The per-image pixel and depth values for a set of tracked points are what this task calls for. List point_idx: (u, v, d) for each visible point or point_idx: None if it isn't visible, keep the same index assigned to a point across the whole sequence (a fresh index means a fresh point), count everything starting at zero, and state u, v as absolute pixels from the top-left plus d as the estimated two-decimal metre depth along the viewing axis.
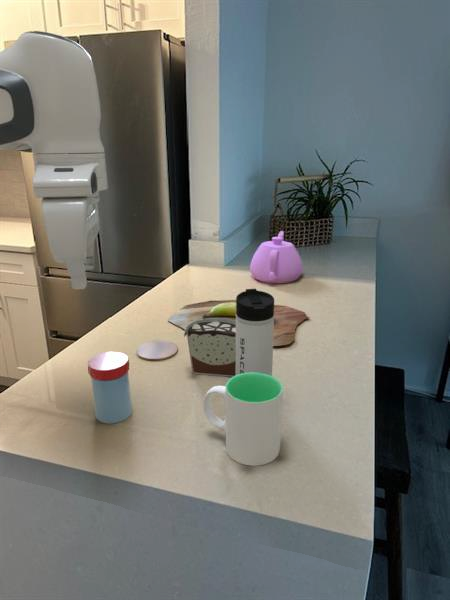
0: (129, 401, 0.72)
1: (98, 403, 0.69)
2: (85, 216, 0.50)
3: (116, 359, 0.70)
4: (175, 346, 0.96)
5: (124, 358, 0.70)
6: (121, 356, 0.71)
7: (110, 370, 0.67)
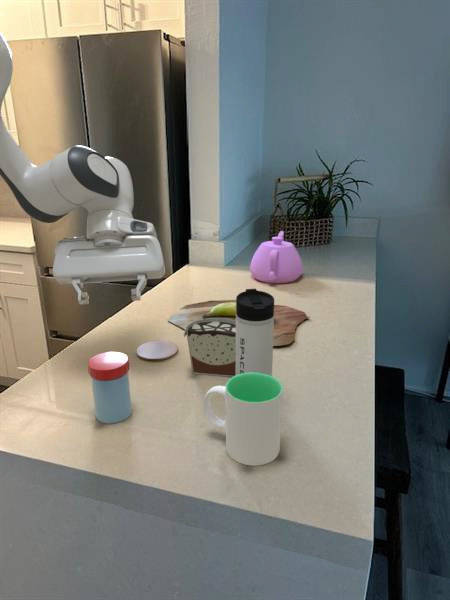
0: (129, 401, 0.72)
1: (98, 403, 0.69)
2: None
3: (116, 359, 0.70)
4: (175, 346, 0.96)
5: (124, 358, 0.70)
6: (121, 356, 0.71)
7: (110, 370, 0.67)
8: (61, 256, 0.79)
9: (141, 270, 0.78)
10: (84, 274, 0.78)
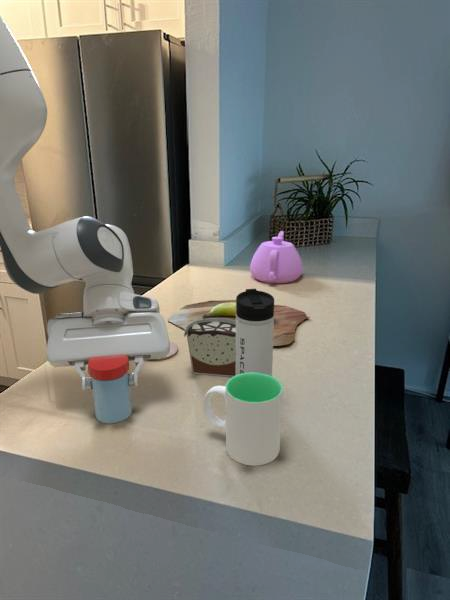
0: (129, 401, 0.72)
1: (98, 403, 0.69)
2: None
3: (116, 359, 0.70)
4: (175, 346, 0.96)
5: (124, 358, 0.70)
6: (121, 356, 0.71)
7: (110, 370, 0.67)
8: (56, 337, 0.71)
9: (146, 352, 0.72)
10: (82, 357, 0.70)
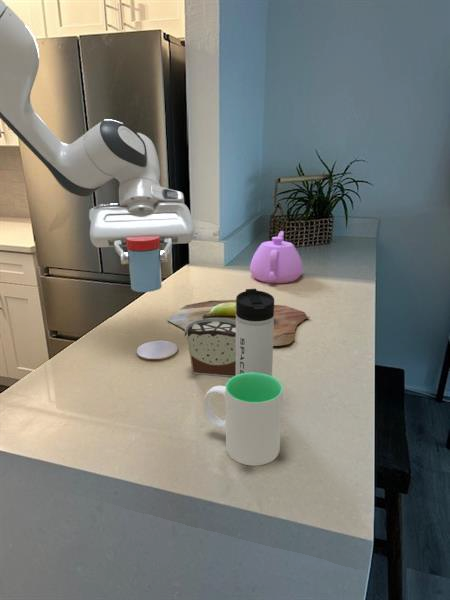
0: (160, 275, 0.84)
1: (134, 273, 0.82)
2: None
3: (149, 237, 0.82)
4: (175, 346, 0.96)
5: (156, 236, 0.82)
6: (153, 235, 0.83)
7: (145, 241, 0.79)
8: (97, 220, 0.83)
9: (174, 234, 0.84)
10: (120, 236, 0.83)
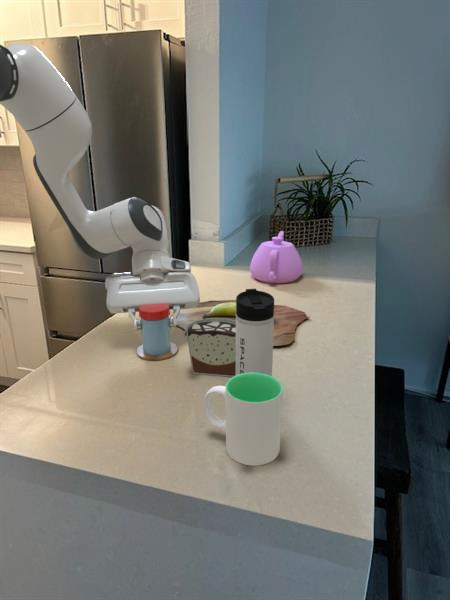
0: (169, 339, 0.93)
1: (146, 339, 0.91)
2: None
3: (160, 306, 0.91)
4: (175, 346, 0.96)
5: (166, 305, 0.92)
6: (163, 304, 0.92)
7: (157, 312, 0.88)
8: (113, 289, 0.93)
9: (182, 302, 0.94)
10: (134, 305, 0.92)
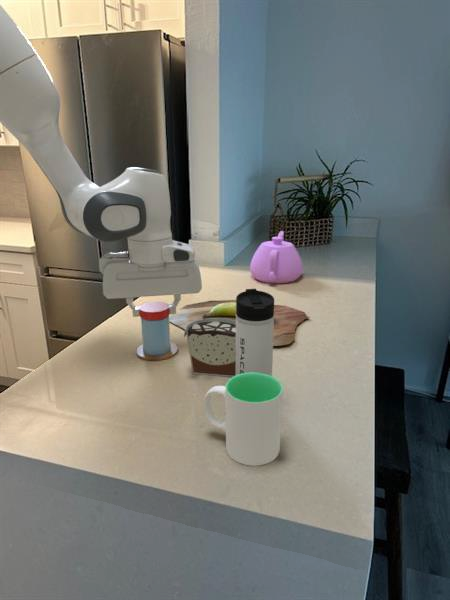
0: (169, 339, 0.93)
1: (146, 339, 0.91)
2: None
3: (160, 306, 0.91)
4: (175, 346, 0.96)
5: (166, 305, 0.92)
6: (163, 304, 0.92)
7: (157, 312, 0.88)
8: (109, 279, 0.86)
9: (183, 293, 0.89)
10: (132, 296, 0.88)
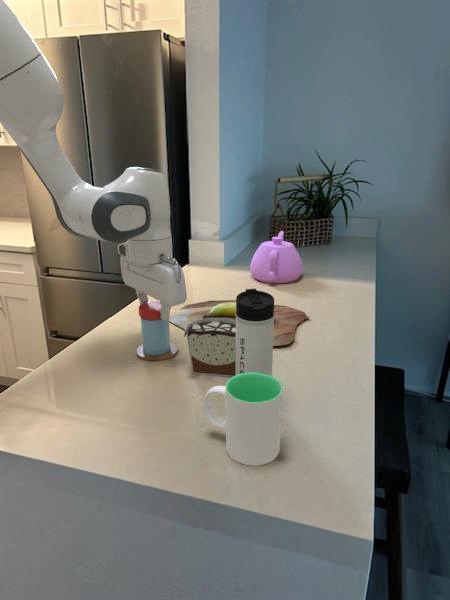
0: (169, 339, 0.93)
1: (146, 339, 0.91)
2: (120, 262, 0.94)
3: (150, 304, 0.92)
4: (175, 346, 0.96)
5: (146, 303, 0.93)
6: (144, 304, 0.92)
7: None
8: None
9: None
10: None
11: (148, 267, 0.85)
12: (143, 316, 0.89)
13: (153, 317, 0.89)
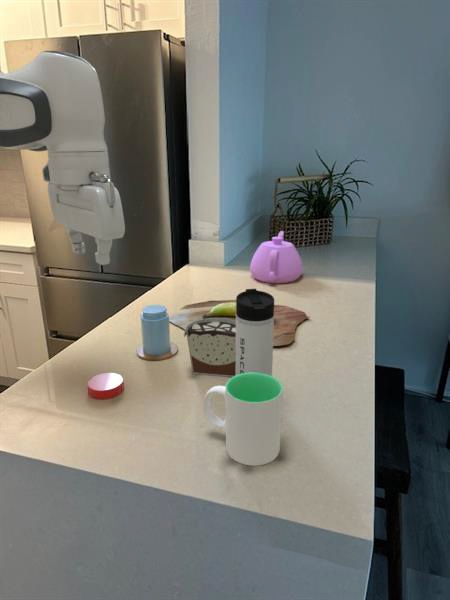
0: (169, 339, 0.93)
1: (146, 339, 0.91)
2: (48, 193, 0.73)
3: (101, 378, 0.80)
4: (175, 346, 0.96)
5: (98, 376, 0.81)
6: (95, 378, 0.80)
7: (119, 375, 0.82)
8: None
9: None
10: None
11: (75, 191, 0.65)
12: (92, 395, 0.77)
13: (103, 396, 0.77)
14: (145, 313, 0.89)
